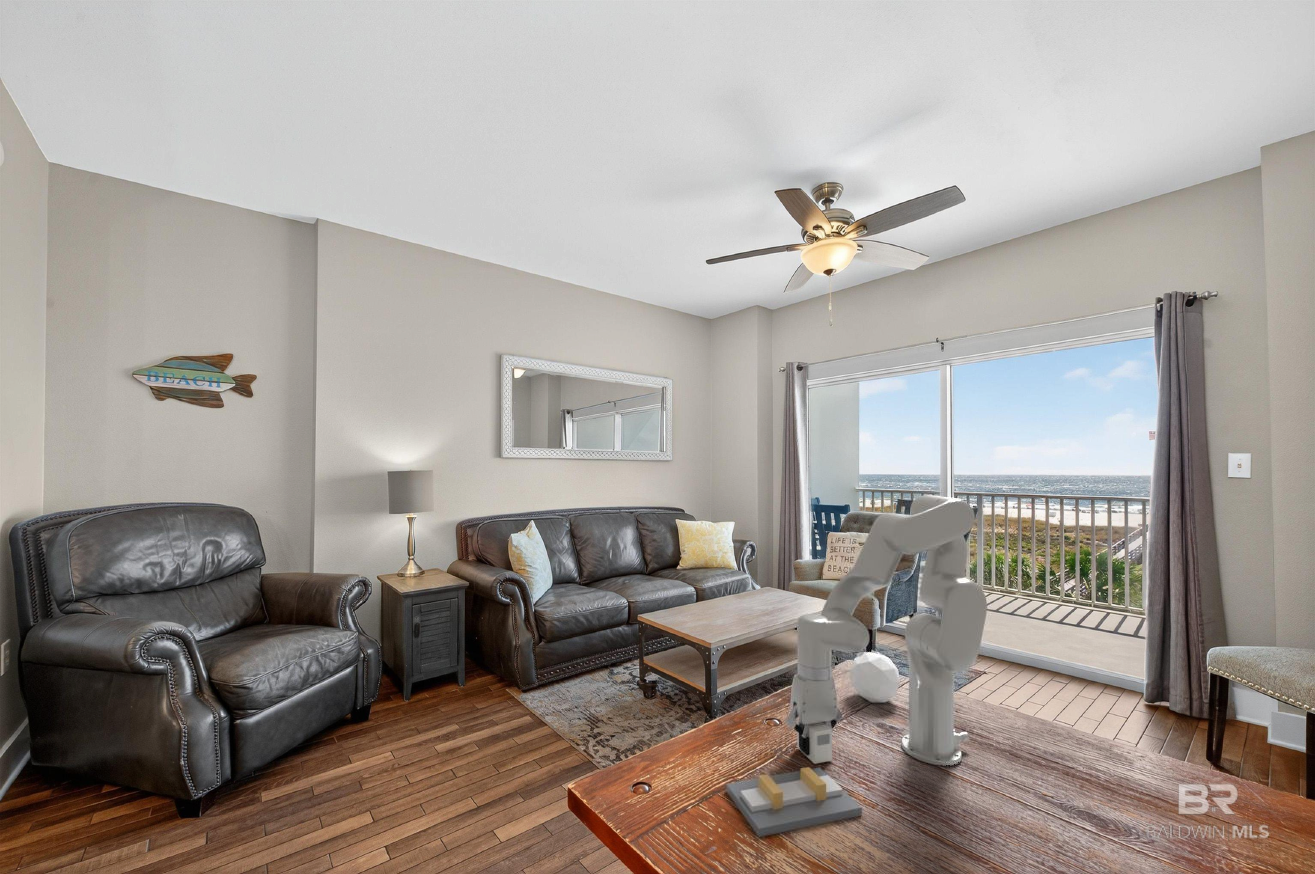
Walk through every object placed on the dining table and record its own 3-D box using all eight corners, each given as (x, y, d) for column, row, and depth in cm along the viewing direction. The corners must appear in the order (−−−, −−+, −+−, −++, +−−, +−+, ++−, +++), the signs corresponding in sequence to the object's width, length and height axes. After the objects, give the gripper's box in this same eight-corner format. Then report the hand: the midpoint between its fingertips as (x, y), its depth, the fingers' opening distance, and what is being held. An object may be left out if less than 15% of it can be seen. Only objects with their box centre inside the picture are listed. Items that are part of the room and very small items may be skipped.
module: (814, 744, 130) (814, 714, 130) (832, 760, 123) (832, 729, 123) (797, 747, 128) (797, 717, 129) (815, 764, 121) (814, 732, 122)
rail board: (819, 774, 118) (819, 753, 118) (861, 815, 105) (861, 791, 105) (726, 791, 111) (726, 768, 112) (758, 836, 98) (759, 811, 98)
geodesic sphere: (840, 685, 151) (872, 648, 150) (833, 667, 164) (862, 632, 163) (883, 721, 149) (916, 684, 148) (872, 699, 162) (902, 665, 161)
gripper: (835, 660, 132) (835, 737, 132) (773, 668, 127) (773, 747, 127) (855, 672, 125) (856, 753, 125) (790, 680, 120) (790, 765, 120)
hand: (814, 749), depth 126 cm, fingers closed on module, 4 cm apart
